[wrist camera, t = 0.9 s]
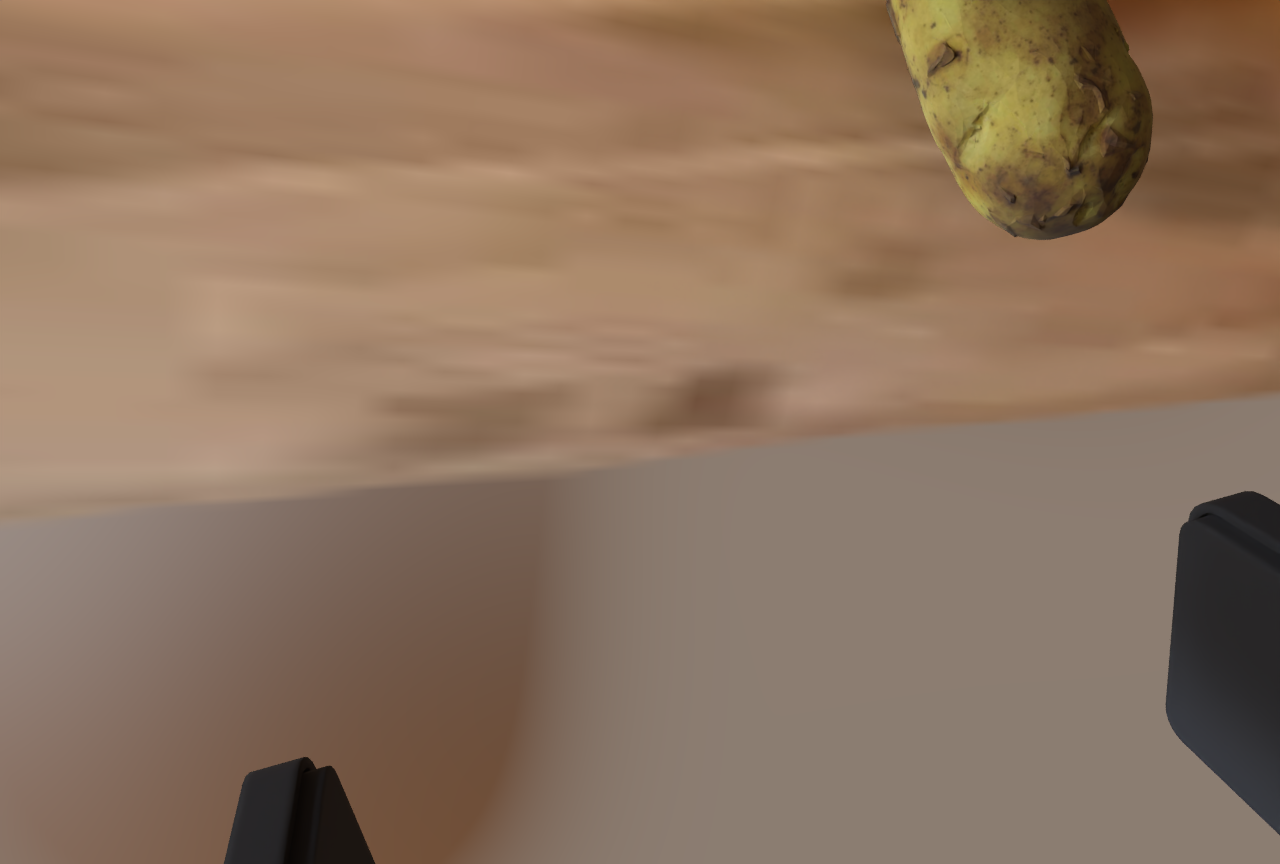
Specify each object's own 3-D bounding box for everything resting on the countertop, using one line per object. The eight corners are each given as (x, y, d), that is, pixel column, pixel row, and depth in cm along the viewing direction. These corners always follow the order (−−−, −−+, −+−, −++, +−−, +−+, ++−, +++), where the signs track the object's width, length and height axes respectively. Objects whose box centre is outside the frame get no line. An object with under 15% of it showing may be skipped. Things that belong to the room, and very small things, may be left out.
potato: (1067, -182, 33) (1248, -236, 26) (1046, 194, 38) (1190, 236, 31) (839, -154, 32) (961, -202, 24) (851, 229, 37) (954, 281, 30)
